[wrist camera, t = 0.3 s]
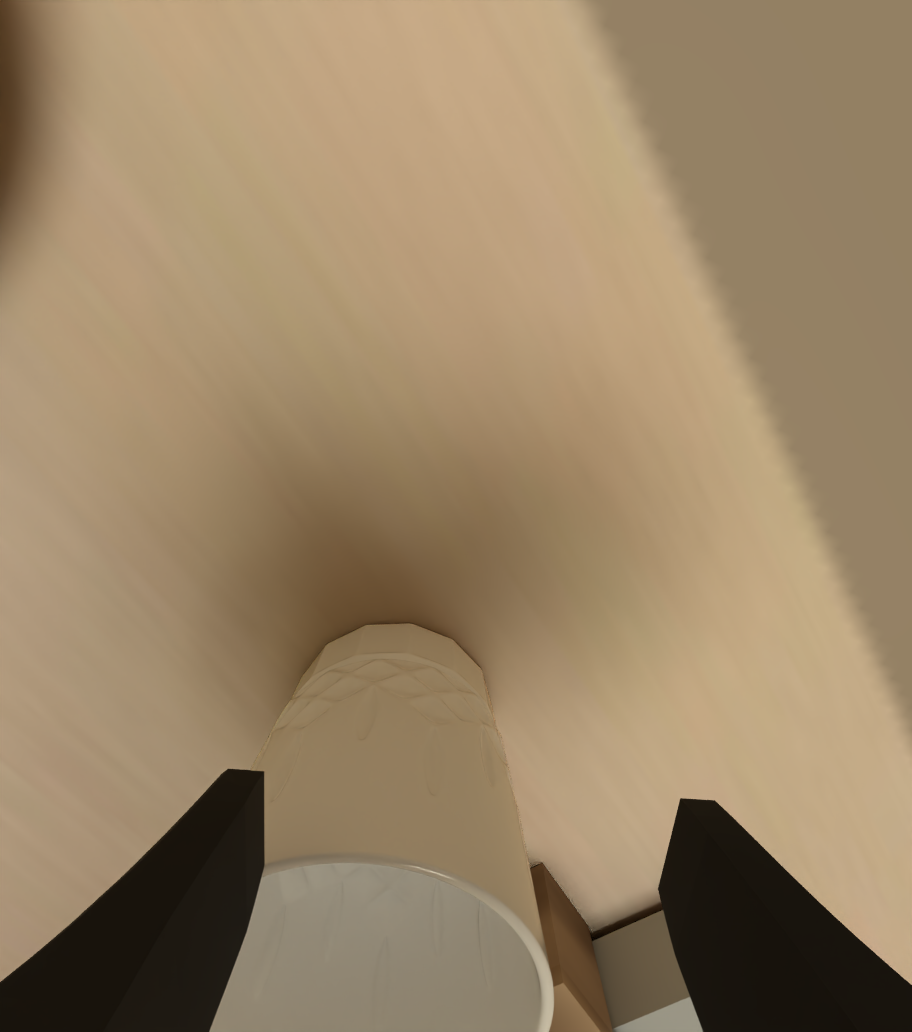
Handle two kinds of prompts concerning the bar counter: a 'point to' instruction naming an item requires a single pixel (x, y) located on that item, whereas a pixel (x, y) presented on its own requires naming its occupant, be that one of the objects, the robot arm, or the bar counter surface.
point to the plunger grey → (644, 979)
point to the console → (569, 960)
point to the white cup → (390, 855)
